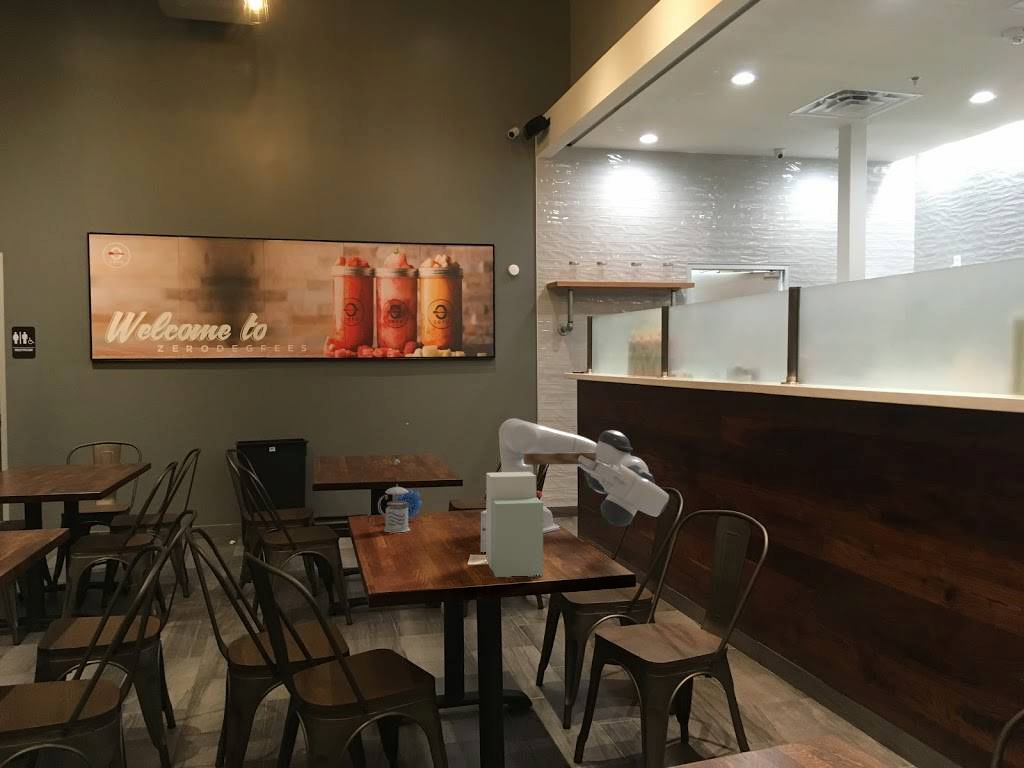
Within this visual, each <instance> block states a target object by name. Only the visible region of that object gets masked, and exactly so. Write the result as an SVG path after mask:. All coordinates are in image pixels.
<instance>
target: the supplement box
mask: <svg viewBox="0 0 1024 768" xmlns="http://www.w3.org/2000/svg"><path fill="white" fill-rule="evenodd" d="M481 552H483V553H484V552H486V509H485V510H484V511H481V512H480V553H481Z"/></svg>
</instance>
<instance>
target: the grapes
mask: <svg viewBox="0 0 1024 768" xmlns="http://www.w3.org/2000/svg"><path fill="white" fill-rule="evenodd" d="M407 490H408V491H409V492H408V493H407V494H396V498H394V499H392V501H394V502H395V501H398V502H401V501H403V502H407V504H406V505H403V506H407V507H408V522H409V521H411V518H412V517H416V516H417V515H418V514H419V508H421V507H422V504H423V502H422V500H421V499H420V497H421V494H420V493H419V492H418V491H417V492H414V491H413V489H412V488H408V489H407ZM397 509H399V508H397ZM394 514H395V513H393V514H392V515H394ZM403 516H404V515H403ZM397 517H401V516H397ZM396 520H399V519H396ZM403 520H404V519H403ZM399 521H400V520H399Z"/></svg>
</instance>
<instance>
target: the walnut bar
mask: <svg viewBox="0 0 1024 768" xmlns="http://www.w3.org/2000/svg"><path fill="white" fill-rule="evenodd" d="M579 455H582V456H584V457H585V458H587V459H589V460H592V461H593V462H594V460H596V453H595V452H546V453H524V464H525V465H533V466H534V465H536V466H537V465H538V466H539V465H541V466H544V465H568V464H583V463H581V462H579V461H577V458H578V456H579Z"/></svg>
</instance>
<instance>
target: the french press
mask: <svg viewBox="0 0 1024 768" xmlns="http://www.w3.org/2000/svg"><path fill="white" fill-rule="evenodd" d="M393 461H394V464H399V463H400V460H399V459H395V460H393ZM408 490H409V489H406V488H404V487H401V486H398V485H396V486H394V487H390V488H388V489H387V490H385V494H384V495H383V496H381V497H380V498H379V500H378V502H377V510H378V512H379V513H380V514H382V516H383V517H384V518H385V521H384V522H385V524H384V525H385V527H384V529H383V530H384V531H385V532H393V533H394V532H395V533H396V532H406V531H410V529H411V528H410V527H409V521H408V507H407V506H403V505H406V504H407V502H403V501H401V502H398V501H395V502H394V501H393V500H392V501H388V502H387V503H386V505H387V506H386V507H385V513H384V512H383V510H382V509H381V508H382V507H381V506H380V503H381V501H382V500H383V498H384V499H385V500H387V499H388V498H389V496H388V495H398V494H407V493H408V492H409V491H408ZM397 508H399V509H397ZM393 513H395V514H394V515H392V514H393ZM403 515H404V516H403ZM397 516H401V517H397ZM396 519H399V520H401V521H398V520H396ZM403 519H404V520H403ZM385 532H384V533H385ZM410 532H411V531H410ZM406 533H407V532H406Z"/></svg>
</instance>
